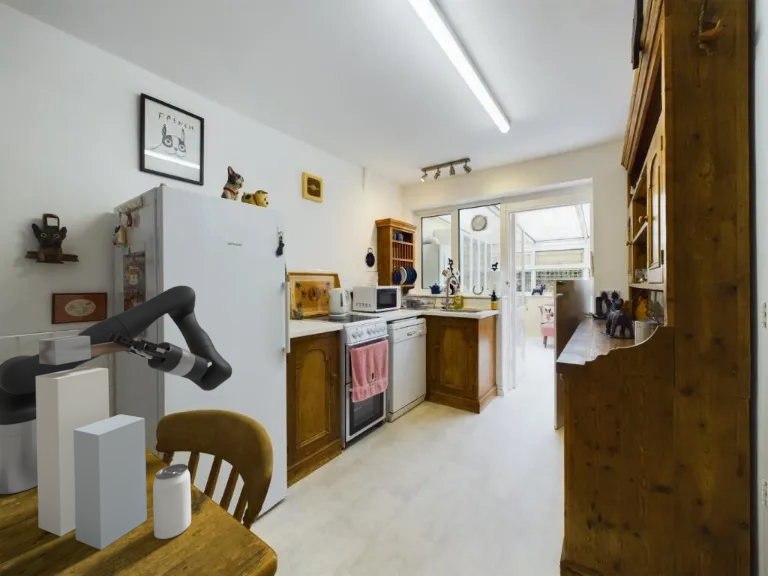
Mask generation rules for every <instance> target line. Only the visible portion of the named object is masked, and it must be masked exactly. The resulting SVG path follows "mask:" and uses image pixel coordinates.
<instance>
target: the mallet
mask: <svg viewBox="0 0 768 576" xmlns="http://www.w3.org/2000/svg"><path fill="white" fill-rule="evenodd" d="M77 335H78V334H77ZM77 335H76V334H75V335H67V336H59V337H51V338H44V339H43V338H42V339H38V354H39V362H40V364H50V365H60V364H65V363H70V362H75V361H81V360H86V359H91V357H94V356H99V355H101V356H103V355H109V354H114V353H119V352H125V351H126V350H131V349H130V348H129V347H130V346H129V347H126V346H123V345H120V344H117V343H114V342H108V343H102V344H96V345H90V336H77ZM134 339H138V340H144V338H143V337H136V338H133V340H134ZM99 357H100V356H99Z"/></svg>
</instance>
